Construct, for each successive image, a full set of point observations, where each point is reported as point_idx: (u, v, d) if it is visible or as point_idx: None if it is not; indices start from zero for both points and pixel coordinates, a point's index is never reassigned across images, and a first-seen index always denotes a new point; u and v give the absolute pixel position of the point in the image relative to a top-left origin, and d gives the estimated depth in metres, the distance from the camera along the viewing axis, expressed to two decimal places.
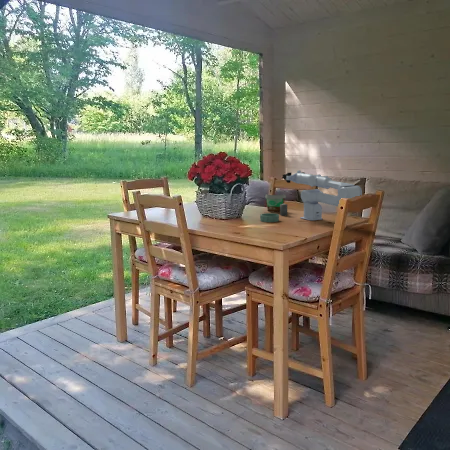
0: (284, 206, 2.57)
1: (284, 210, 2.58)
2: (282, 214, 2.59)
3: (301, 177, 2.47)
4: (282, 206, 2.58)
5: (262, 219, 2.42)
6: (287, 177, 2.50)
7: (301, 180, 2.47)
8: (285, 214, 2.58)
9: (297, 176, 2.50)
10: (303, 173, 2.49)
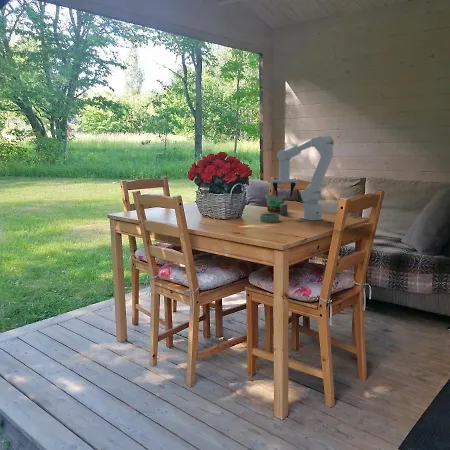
0: (284, 206, 2.57)
1: (284, 210, 2.58)
2: (282, 214, 2.59)
3: (279, 170, 2.54)
4: (282, 206, 2.58)
5: (262, 219, 2.42)
6: None
7: (282, 170, 2.53)
8: (285, 214, 2.58)
9: None
10: None
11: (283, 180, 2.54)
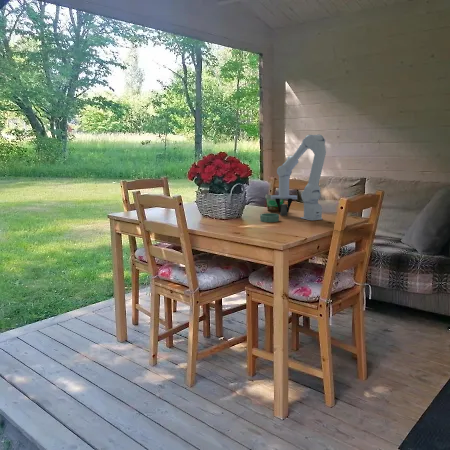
0: (284, 206, 2.57)
1: (284, 210, 2.58)
2: (282, 214, 2.59)
3: (279, 186, 2.56)
4: (282, 206, 2.58)
5: (262, 219, 2.42)
6: None
7: (282, 186, 2.55)
8: (285, 214, 2.58)
9: None
10: None
11: (283, 196, 2.56)
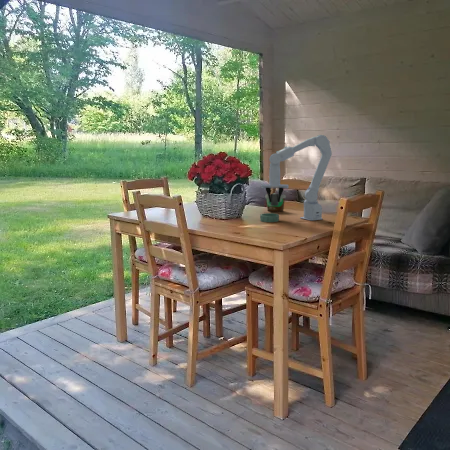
0: (274, 195, 2.46)
1: (275, 200, 2.47)
2: (272, 204, 2.47)
3: (273, 175, 2.43)
4: (272, 195, 2.46)
5: (262, 219, 2.42)
6: (261, 186, 2.48)
7: (276, 175, 2.43)
8: (276, 204, 2.47)
9: None
10: None
11: (273, 185, 2.44)
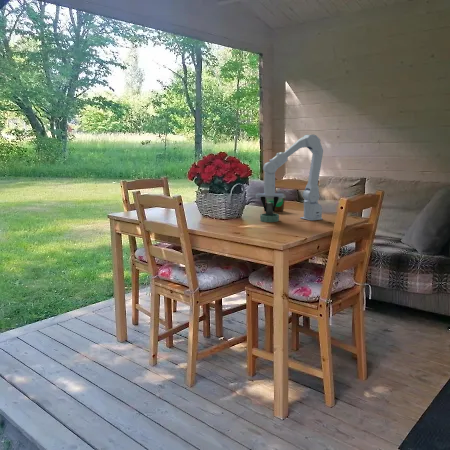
0: (269, 205, 2.42)
1: (270, 209, 2.42)
2: (267, 213, 2.43)
3: (269, 184, 2.39)
4: (267, 205, 2.42)
5: (262, 219, 2.42)
6: None
7: (272, 183, 2.39)
8: (271, 213, 2.43)
9: None
10: None
11: (268, 194, 2.39)
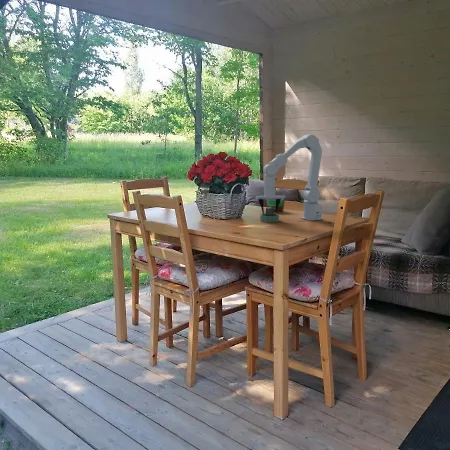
0: (269, 210, 2.42)
1: (270, 214, 2.42)
2: None
3: (269, 186, 2.39)
4: (267, 210, 2.42)
5: (262, 219, 2.42)
6: None
7: (272, 186, 2.39)
8: None
9: None
10: None
11: (268, 196, 2.40)
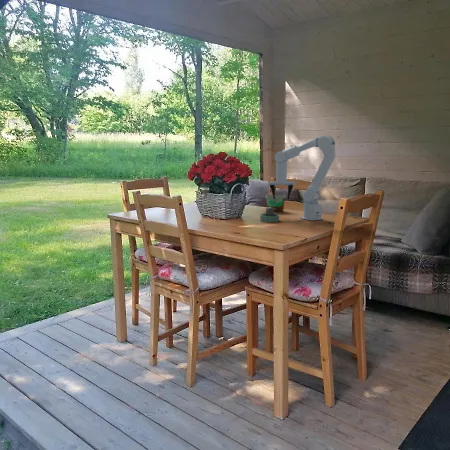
0: (269, 210, 2.42)
1: (270, 214, 2.42)
2: None
3: (278, 172, 2.50)
4: (267, 210, 2.42)
5: (262, 219, 2.42)
6: (268, 183, 2.54)
7: (280, 172, 2.49)
8: None
9: None
10: None
11: (280, 182, 2.50)
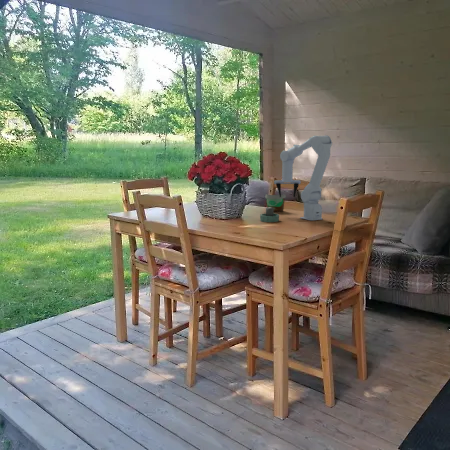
0: (269, 210, 2.42)
1: (270, 214, 2.42)
2: None
3: (282, 171, 2.57)
4: (267, 210, 2.42)
5: (262, 219, 2.42)
6: (274, 182, 2.60)
7: (284, 171, 2.56)
8: None
9: None
10: None
11: (286, 180, 2.56)
